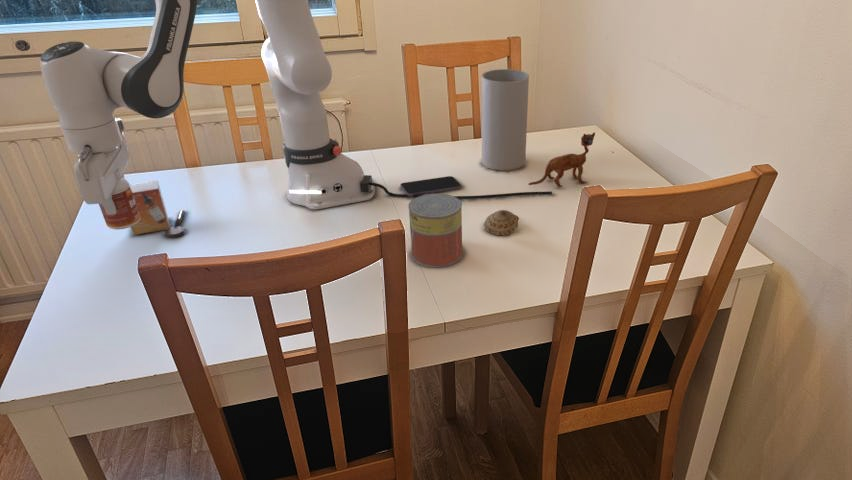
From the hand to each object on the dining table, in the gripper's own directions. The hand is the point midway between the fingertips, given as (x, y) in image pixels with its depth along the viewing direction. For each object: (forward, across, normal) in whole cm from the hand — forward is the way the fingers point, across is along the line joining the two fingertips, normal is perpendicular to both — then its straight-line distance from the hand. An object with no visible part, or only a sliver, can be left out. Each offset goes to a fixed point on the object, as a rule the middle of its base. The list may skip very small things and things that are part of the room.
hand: (117, 204), depth 126 cm
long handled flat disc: (+17, +22, -4) cm, 28 cm away
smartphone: (+18, +29, -66) cm, 74 cm away
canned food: (+18, -5, -61) cm, 64 cm away
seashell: (+18, +4, -78) cm, 81 cm away
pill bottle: (+4, 0, 0) cm, 4 cm away
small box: (+17, +22, +2) cm, 28 cm away
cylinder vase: (+19, +41, -89) cm, 99 cm away
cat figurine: (+19, +24, -100) cm, 104 cm away
